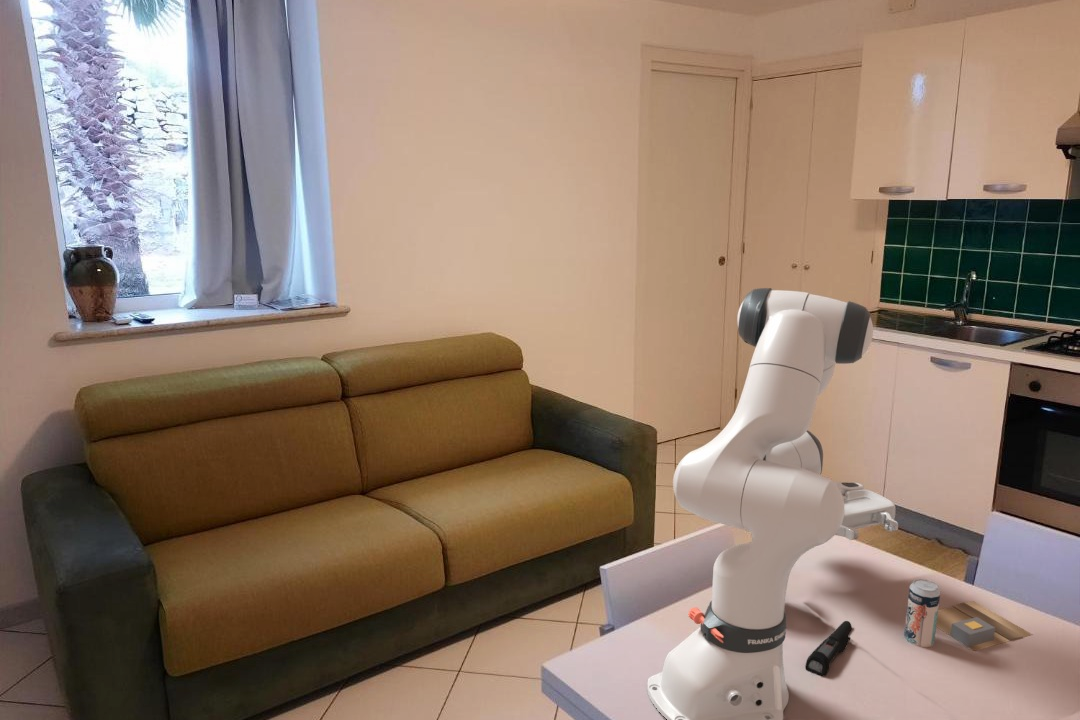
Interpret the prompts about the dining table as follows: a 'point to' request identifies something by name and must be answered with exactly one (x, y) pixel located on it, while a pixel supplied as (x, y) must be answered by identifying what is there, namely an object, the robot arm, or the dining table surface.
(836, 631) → the electric trimmer
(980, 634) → the grey box with label
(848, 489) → the robot arm
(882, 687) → the dining table surface
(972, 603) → the subfloor panel
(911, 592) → the beer can
